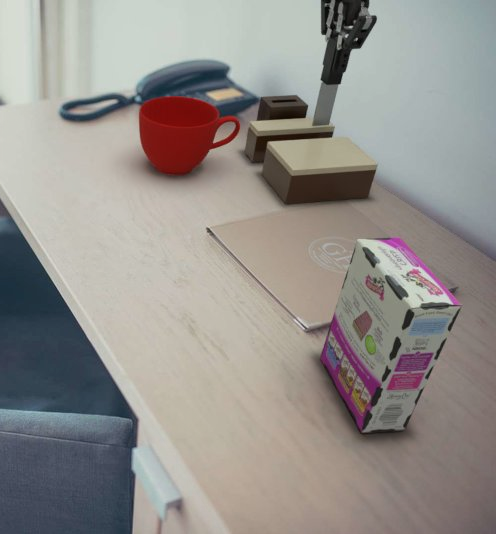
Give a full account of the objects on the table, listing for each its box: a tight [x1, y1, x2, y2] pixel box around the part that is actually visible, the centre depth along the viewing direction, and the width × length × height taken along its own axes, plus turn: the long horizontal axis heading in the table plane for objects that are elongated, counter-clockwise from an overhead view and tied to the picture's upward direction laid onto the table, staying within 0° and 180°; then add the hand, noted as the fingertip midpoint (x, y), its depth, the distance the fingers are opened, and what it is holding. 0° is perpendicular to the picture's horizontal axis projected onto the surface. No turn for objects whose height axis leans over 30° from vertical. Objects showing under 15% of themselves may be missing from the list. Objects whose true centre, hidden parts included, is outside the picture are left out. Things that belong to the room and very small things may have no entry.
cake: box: [261, 136, 379, 205], centre depth 104 cm, size 14×10×6 cm
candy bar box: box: [319, 236, 463, 434], centre depth 64 cm, size 11×5×16 cm, turn 6°
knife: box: [312, 36, 347, 126], centre depth 105 cm, size 3×2×14 cm
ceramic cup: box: [138, 95, 241, 176], centre depth 107 cm, size 13×17×10 cm
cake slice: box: [244, 117, 336, 163], centre depth 112 cm, size 14×4×6 cm, turn 100°
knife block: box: [256, 94, 309, 121], centre depth 117 cm, size 7×5×8 cm
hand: (333, 68), depth 104 cm, fingers closed on knife, 2 cm apart
